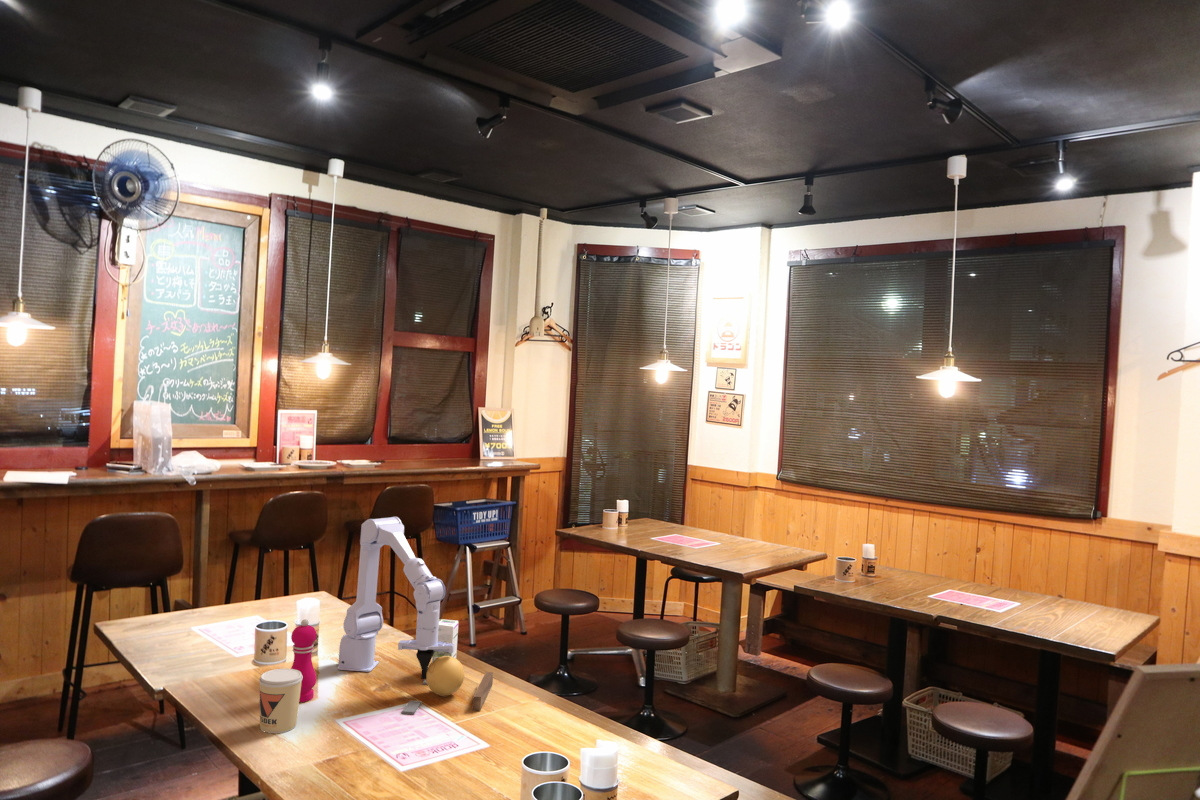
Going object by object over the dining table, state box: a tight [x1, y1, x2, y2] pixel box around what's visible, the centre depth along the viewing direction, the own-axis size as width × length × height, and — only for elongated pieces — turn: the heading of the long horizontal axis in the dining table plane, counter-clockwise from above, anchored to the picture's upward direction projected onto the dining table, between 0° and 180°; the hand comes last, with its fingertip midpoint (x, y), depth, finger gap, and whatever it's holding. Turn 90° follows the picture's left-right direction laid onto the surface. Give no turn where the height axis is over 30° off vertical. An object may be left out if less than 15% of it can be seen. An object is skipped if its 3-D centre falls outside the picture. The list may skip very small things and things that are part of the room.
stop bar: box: [471, 671, 494, 712], centre depth 205 cm, size 2×18×4 cm, turn 178°
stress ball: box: [426, 656, 465, 697], centre depth 205 cm, size 10×10×10 cm
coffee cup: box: [258, 668, 303, 734], centre depth 181 cm, size 9×9×12 cm
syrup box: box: [431, 618, 459, 662], centre depth 222 cm, size 6×6×14 cm
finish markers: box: [401, 679, 428, 715], centre depth 204 cm, size 3×24×1 cm, turn 178°
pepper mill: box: [290, 619, 318, 703], centre depth 198 cm, size 7×7×20 cm
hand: (424, 677), depth 206 cm, fingers closed, pressing on stress ball
